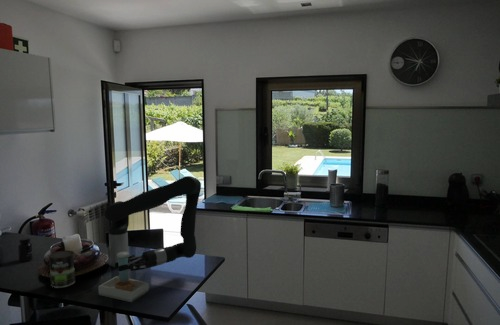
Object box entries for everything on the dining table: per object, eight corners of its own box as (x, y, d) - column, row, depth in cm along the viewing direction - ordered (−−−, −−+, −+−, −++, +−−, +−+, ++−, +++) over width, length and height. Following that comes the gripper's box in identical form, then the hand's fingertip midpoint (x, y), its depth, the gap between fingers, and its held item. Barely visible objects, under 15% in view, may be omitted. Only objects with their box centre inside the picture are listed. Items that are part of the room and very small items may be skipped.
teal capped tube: (115, 281, 156) (114, 254, 155) (123, 276, 160) (122, 251, 159) (124, 283, 154) (123, 256, 153) (132, 278, 159) (130, 252, 157)
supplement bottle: (32, 261, 193) (30, 240, 192) (17, 263, 191) (15, 241, 190) (34, 257, 200) (33, 236, 198) (20, 258, 197) (18, 237, 196)
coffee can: (73, 286, 164) (71, 256, 162) (48, 289, 161) (46, 259, 159) (77, 277, 174) (75, 249, 172) (53, 279, 171) (52, 251, 169)
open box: (98, 294, 156) (98, 284, 156) (116, 284, 166) (116, 274, 166) (132, 302, 149) (131, 292, 149) (148, 291, 160) (148, 281, 159)
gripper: (148, 245, 170) (111, 254, 160) (160, 254, 159) (121, 264, 149) (148, 261, 171) (112, 270, 161) (161, 270, 160) (122, 281, 150)
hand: (116, 267), depth 155 cm, fingers closed on teal capped tube, 4 cm apart
